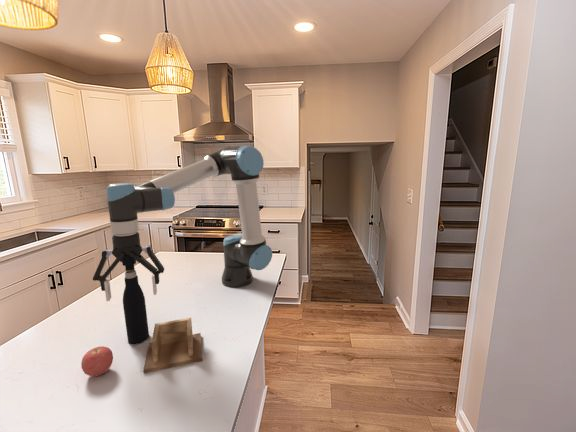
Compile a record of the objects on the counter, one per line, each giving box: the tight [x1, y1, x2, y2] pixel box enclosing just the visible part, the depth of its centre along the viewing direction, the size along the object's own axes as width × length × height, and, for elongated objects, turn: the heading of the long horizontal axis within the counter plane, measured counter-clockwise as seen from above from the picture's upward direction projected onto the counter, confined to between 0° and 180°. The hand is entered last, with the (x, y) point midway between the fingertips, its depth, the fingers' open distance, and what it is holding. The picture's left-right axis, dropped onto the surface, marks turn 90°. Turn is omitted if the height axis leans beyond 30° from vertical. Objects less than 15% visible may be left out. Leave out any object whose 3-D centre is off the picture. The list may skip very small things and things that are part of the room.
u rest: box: [142, 317, 203, 374], centre depth 90 cm, size 16×13×8 cm
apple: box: [80, 345, 114, 377], centre depth 82 cm, size 7×7×8 cm
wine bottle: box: [121, 256, 150, 345], centre depth 95 cm, size 6×6×30 cm
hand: (132, 296), depth 95 cm, fingers open, 13 cm apart
